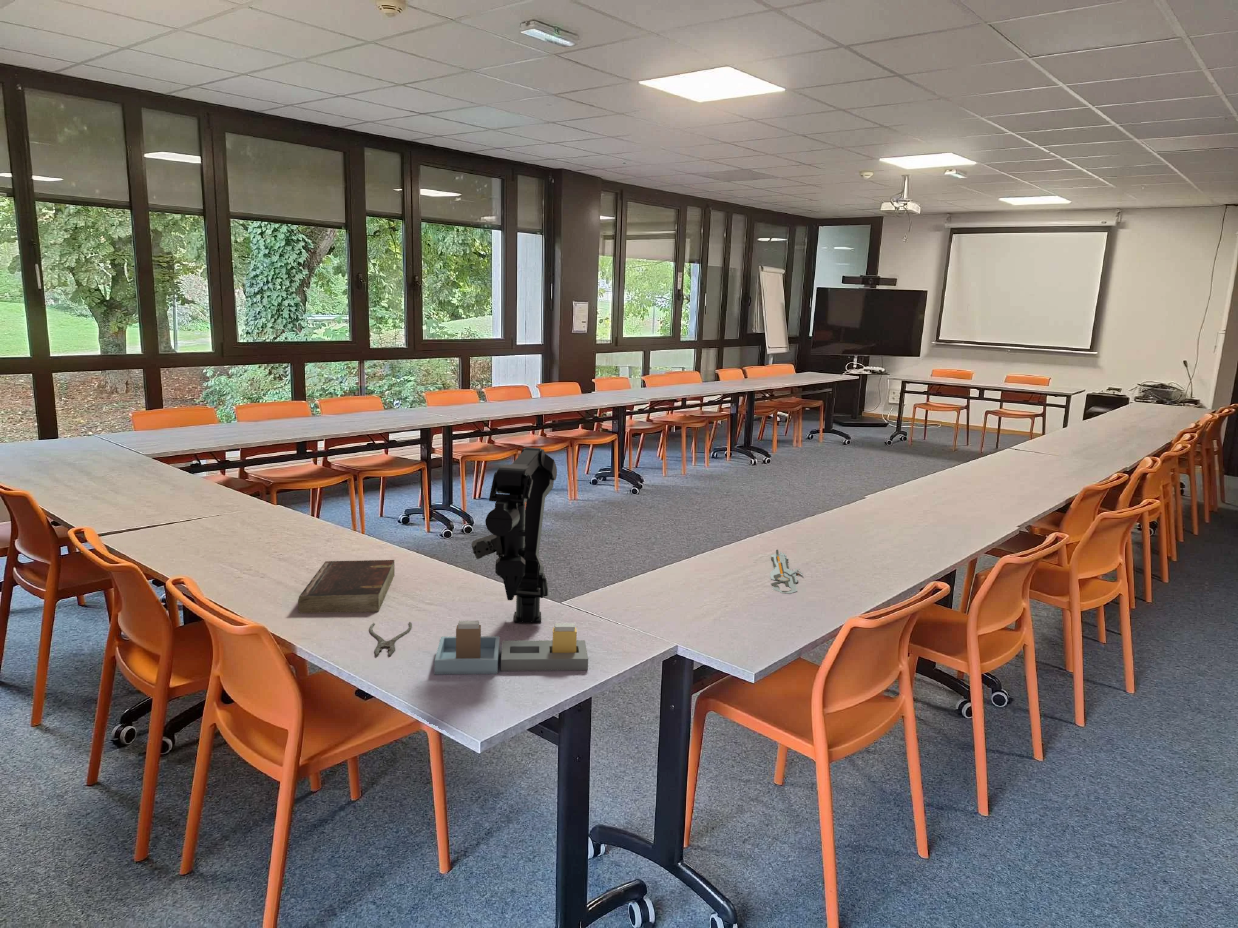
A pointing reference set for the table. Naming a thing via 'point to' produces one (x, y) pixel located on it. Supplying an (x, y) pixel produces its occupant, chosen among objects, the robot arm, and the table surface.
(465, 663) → the parts tray
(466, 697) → the table surface
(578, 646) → the block
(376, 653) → the pliers
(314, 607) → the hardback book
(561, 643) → the block
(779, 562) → the gun
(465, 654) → the block
